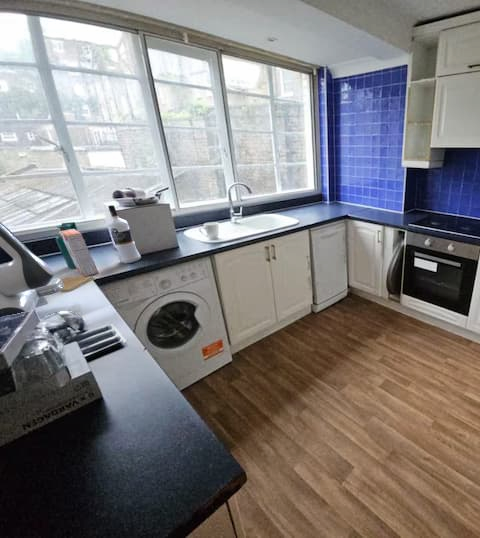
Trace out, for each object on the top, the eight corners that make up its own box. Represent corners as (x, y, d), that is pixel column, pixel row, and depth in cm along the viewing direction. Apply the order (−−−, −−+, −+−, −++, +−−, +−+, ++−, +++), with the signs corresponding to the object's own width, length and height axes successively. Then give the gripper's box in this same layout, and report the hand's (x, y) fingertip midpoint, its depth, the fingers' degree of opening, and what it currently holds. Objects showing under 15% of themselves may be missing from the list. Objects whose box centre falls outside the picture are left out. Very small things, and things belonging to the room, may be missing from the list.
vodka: (145, 257, 163) (126, 203, 151) (132, 264, 154) (111, 207, 142) (130, 257, 164) (110, 203, 152) (116, 264, 155) (94, 207, 143)
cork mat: (70, 291, 127) (69, 289, 126) (39, 292, 127) (38, 290, 126) (94, 278, 139) (93, 276, 138) (66, 279, 139) (65, 277, 138)
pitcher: (87, 266, 153) (69, 225, 144) (67, 269, 150) (47, 227, 141) (95, 260, 161) (78, 221, 153) (76, 263, 159) (58, 223, 150)
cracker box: (76, 271, 148) (58, 231, 139) (91, 267, 152) (74, 228, 144) (83, 277, 140) (64, 235, 131) (99, 273, 144) (81, 232, 136)
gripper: (57, 281, 102) (61, 269, 112) (-33, 300, 91) (-20, 285, 100) (65, 297, 105) (68, 284, 115) (-22, 317, 93) (-11, 302, 103)
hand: (26, 285), depth 108 cm, fingers closed on syrup box, 6 cm apart
